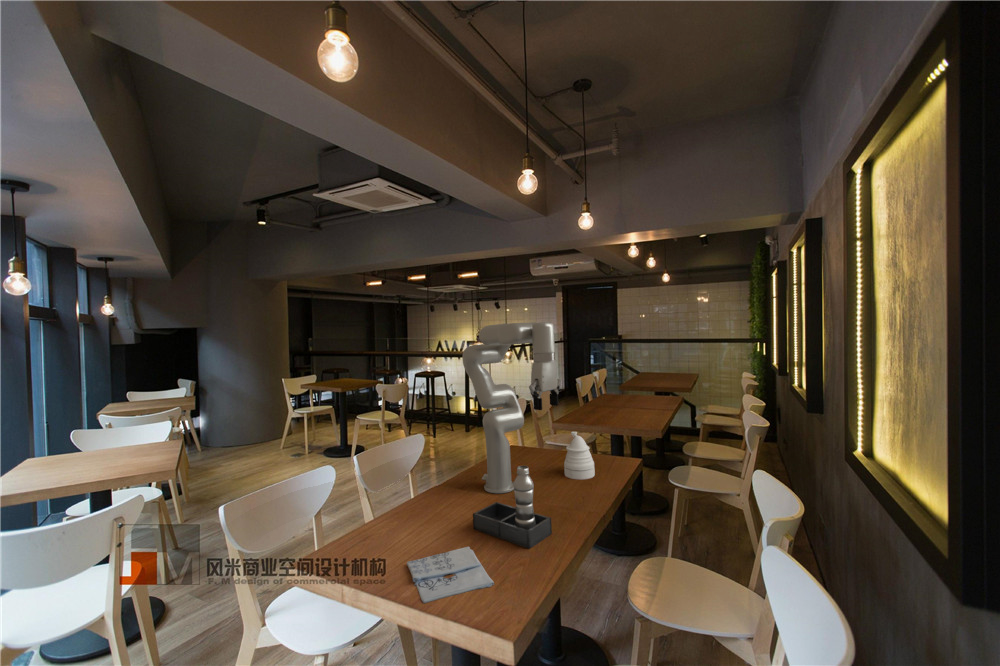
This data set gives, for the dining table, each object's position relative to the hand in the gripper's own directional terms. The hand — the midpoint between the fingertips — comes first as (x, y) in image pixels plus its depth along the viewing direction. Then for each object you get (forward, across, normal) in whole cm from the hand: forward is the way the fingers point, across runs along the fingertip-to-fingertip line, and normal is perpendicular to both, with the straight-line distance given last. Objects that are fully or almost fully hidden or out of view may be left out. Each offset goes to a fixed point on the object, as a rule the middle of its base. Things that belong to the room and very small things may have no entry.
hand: (546, 407), depth 152 cm
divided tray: (+36, +19, -2) cm, 41 cm away
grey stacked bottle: (+36, +19, +3) cm, 40 cm away
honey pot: (+37, -40, -12) cm, 56 cm away
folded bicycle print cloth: (+37, +48, 0) cm, 61 cm away
